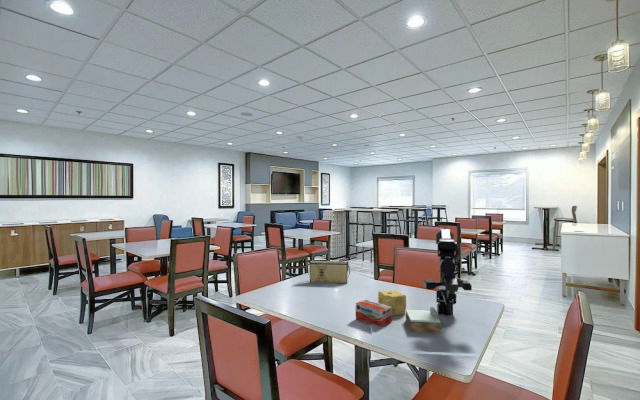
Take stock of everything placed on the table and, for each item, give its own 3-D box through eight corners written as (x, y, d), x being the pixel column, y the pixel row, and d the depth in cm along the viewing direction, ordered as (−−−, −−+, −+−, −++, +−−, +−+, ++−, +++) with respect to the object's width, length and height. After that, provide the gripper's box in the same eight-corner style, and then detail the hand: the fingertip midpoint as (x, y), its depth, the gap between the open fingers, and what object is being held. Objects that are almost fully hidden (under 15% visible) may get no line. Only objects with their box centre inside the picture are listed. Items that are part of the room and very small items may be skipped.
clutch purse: (350, 281, 213) (350, 259, 213) (349, 284, 206) (349, 261, 206) (308, 280, 216) (308, 259, 216) (306, 282, 209) (306, 260, 209)
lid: (432, 312, 139) (432, 305, 139) (440, 322, 127) (440, 315, 127) (405, 311, 140) (405, 304, 140) (410, 321, 128) (410, 314, 128)
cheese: (387, 317, 146) (387, 297, 146) (377, 310, 156) (377, 290, 156) (406, 315, 149) (406, 295, 149) (395, 308, 159) (395, 289, 159)
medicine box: (392, 323, 139) (392, 306, 139) (382, 329, 133) (382, 310, 134) (364, 315, 150) (364, 298, 150) (354, 319, 144) (354, 302, 144)
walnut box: (432, 323, 139) (432, 313, 139) (440, 335, 127) (440, 323, 127) (405, 322, 140) (405, 312, 140) (410, 333, 128) (410, 322, 128)
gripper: (429, 272, 125) (429, 310, 125) (476, 273, 123) (477, 312, 123) (423, 266, 136) (423, 301, 136) (466, 267, 134) (466, 303, 134)
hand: (447, 304), depth 132 cm, fingers closed
